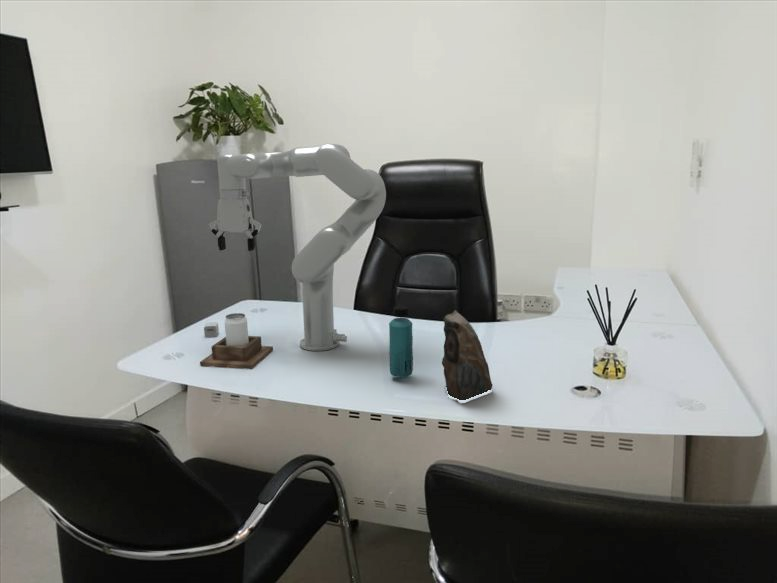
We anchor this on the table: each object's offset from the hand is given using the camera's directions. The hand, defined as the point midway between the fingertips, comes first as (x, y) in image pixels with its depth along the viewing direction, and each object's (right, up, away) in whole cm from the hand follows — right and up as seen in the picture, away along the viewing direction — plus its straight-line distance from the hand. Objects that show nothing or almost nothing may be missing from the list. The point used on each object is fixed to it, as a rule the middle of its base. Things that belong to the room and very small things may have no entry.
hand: (236, 250), depth 172 cm
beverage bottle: (+51, -37, -24) cm, 68 cm away
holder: (+3, -33, -8) cm, 34 cm away
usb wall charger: (-12, -28, +15) cm, 34 cm away
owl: (+68, -39, -34) cm, 85 cm away
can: (+3, -32, -8) cm, 33 cm away
